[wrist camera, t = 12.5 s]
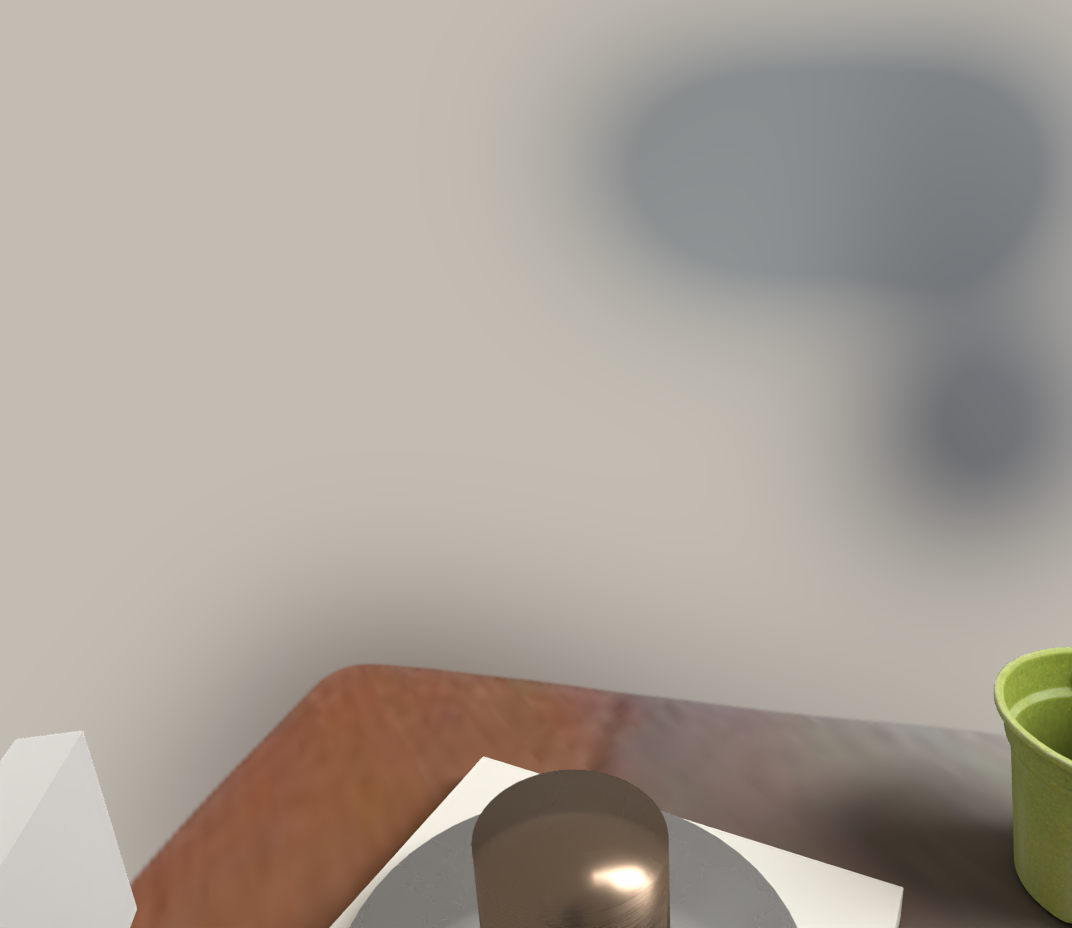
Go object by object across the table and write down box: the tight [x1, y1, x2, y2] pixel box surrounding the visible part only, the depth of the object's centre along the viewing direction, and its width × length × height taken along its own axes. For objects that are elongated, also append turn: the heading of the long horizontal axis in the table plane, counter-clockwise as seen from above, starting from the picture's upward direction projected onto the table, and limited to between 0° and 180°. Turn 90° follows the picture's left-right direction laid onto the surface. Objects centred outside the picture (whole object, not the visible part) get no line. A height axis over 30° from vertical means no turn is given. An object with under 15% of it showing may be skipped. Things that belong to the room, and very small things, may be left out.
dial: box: [350, 770, 797, 928], centre depth 30 cm, size 17×17×12 cm
